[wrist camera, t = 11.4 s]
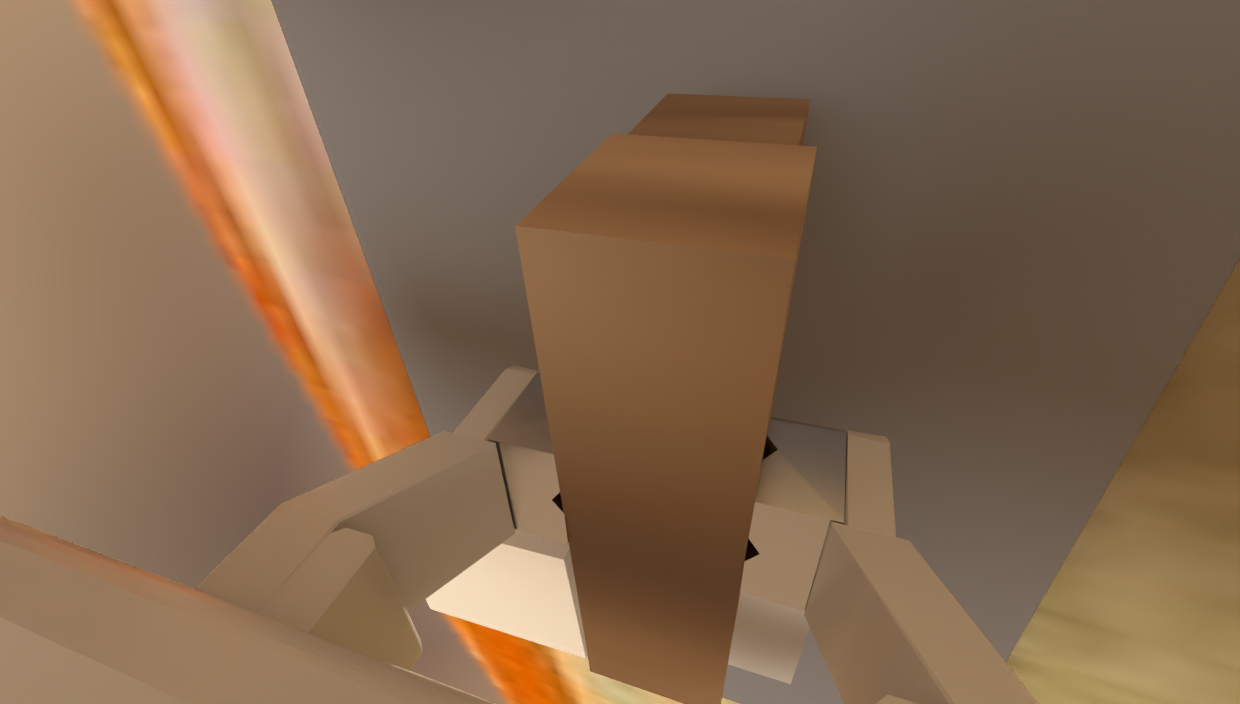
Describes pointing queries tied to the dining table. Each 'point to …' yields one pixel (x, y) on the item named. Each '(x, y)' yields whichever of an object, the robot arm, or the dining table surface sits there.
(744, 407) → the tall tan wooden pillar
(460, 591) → the tile
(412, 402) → the dining table surface
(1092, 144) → the mat
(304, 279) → the dining table surface
